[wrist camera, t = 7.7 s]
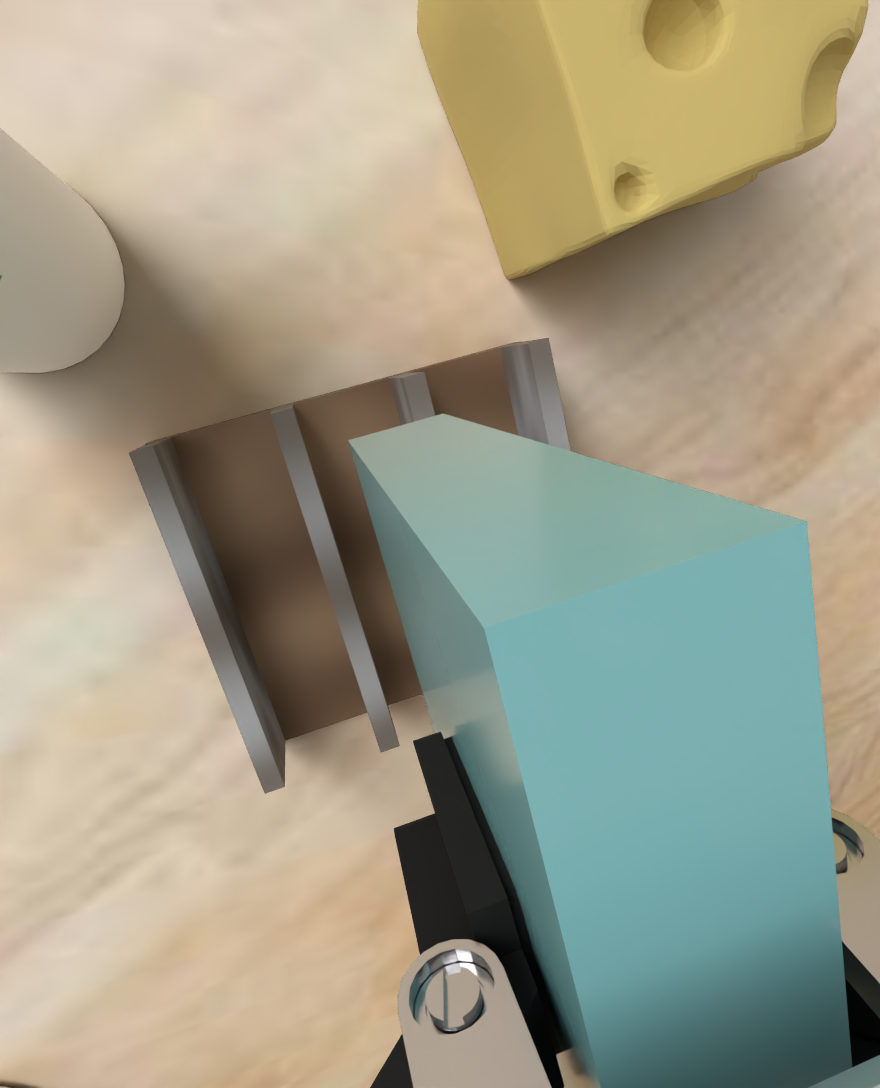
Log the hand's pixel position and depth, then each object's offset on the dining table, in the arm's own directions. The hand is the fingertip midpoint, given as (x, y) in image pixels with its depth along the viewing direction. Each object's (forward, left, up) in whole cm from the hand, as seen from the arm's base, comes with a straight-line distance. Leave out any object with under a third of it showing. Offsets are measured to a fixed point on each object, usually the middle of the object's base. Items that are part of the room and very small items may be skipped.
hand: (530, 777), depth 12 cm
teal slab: (0, 0, -6) cm, 6 cm away
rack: (0, 0, -18) cm, 18 cm away
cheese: (+15, -12, -19) cm, 27 cm away
